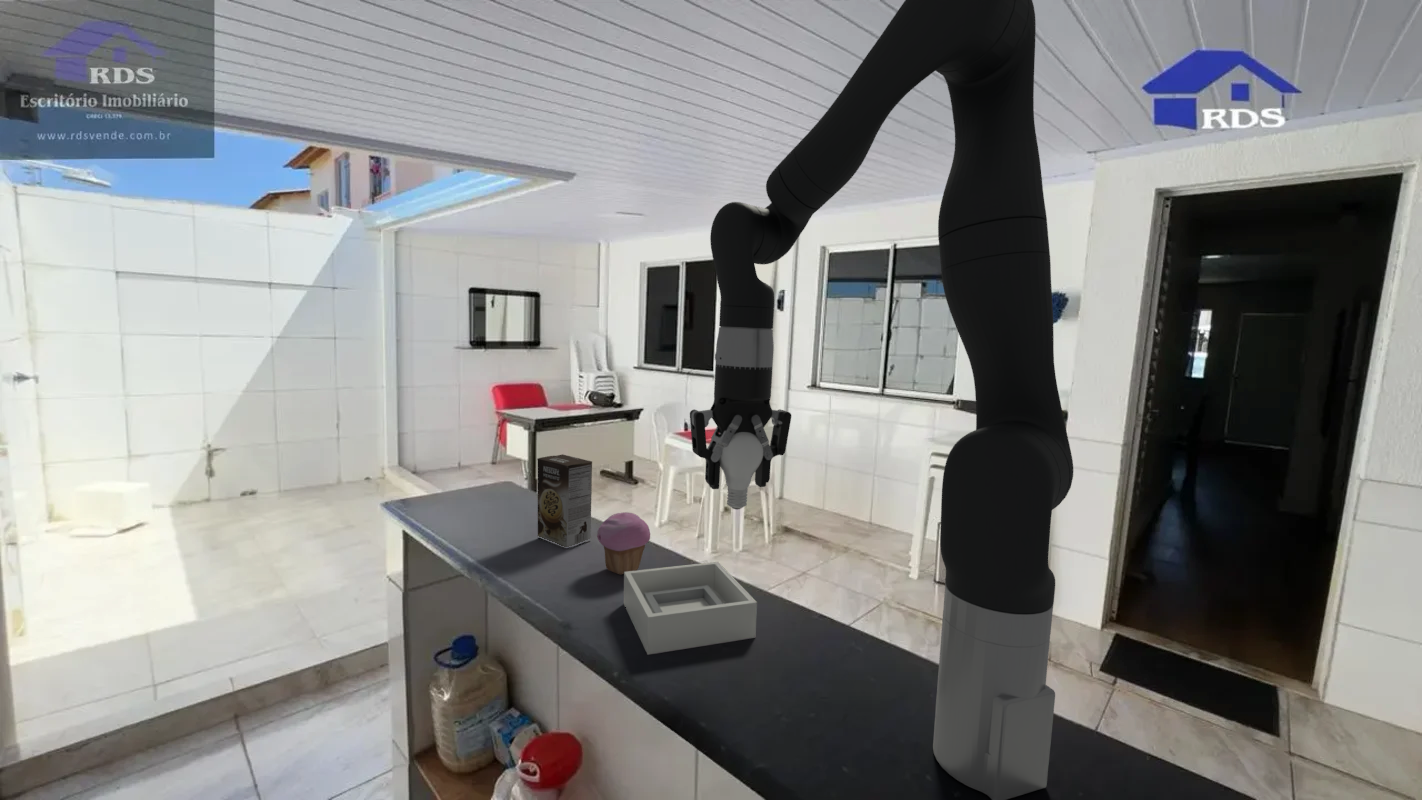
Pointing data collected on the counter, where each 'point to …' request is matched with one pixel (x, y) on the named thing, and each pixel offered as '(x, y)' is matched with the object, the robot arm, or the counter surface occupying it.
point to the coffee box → (564, 499)
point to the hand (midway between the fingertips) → (737, 486)
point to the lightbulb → (740, 466)
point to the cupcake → (623, 541)
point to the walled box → (688, 607)
